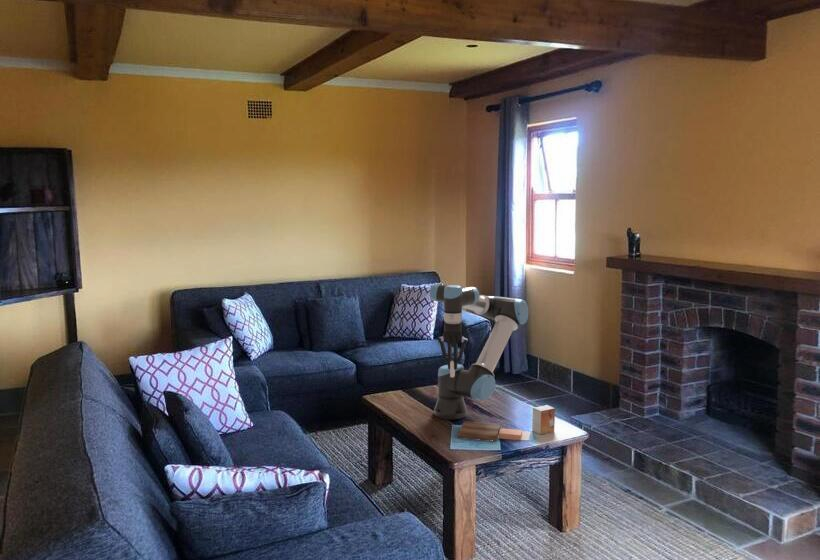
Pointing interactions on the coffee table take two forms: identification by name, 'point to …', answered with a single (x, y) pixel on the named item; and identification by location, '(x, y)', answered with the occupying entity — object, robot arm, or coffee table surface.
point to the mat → (524, 436)
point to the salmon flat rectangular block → (510, 434)
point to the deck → (479, 430)
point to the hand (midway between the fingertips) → (452, 376)
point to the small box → (543, 419)
